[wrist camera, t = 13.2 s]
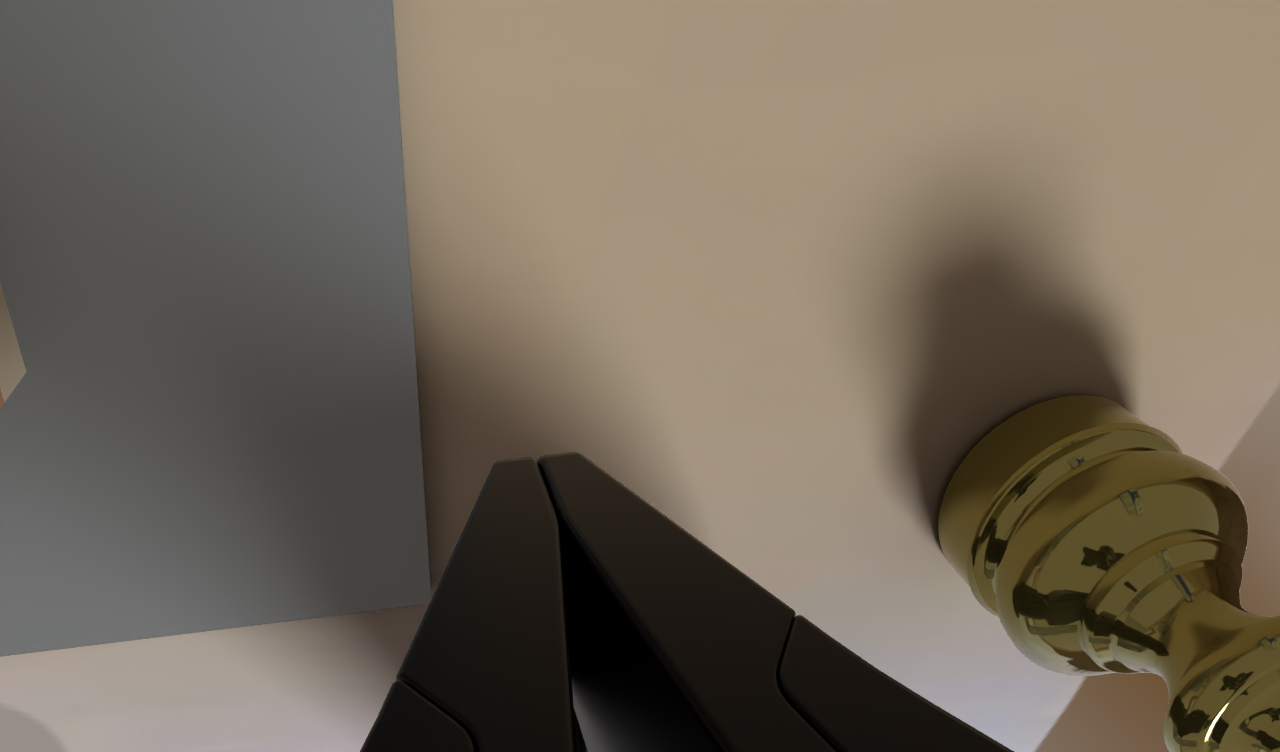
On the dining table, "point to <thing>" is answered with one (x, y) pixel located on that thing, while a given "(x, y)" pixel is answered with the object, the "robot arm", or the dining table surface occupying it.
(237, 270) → the mat
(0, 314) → the tile
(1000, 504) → the olive tall rounded piece
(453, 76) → the dining table surface
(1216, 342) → the dining table surface
